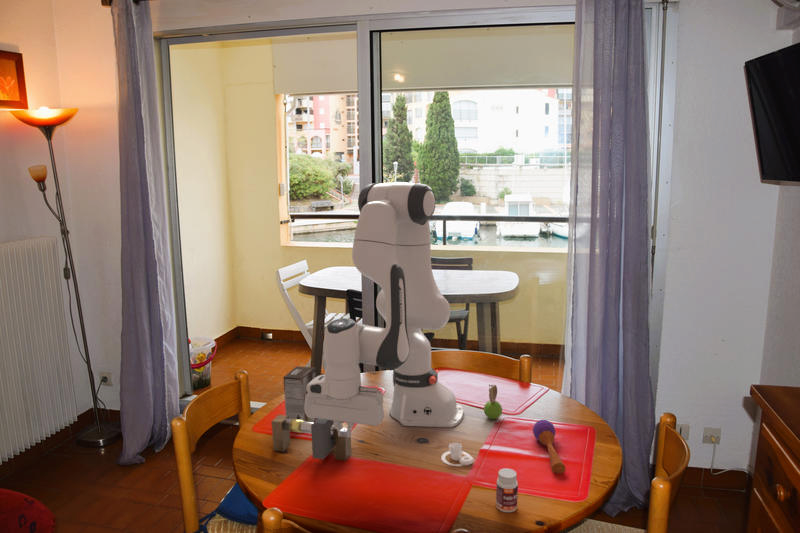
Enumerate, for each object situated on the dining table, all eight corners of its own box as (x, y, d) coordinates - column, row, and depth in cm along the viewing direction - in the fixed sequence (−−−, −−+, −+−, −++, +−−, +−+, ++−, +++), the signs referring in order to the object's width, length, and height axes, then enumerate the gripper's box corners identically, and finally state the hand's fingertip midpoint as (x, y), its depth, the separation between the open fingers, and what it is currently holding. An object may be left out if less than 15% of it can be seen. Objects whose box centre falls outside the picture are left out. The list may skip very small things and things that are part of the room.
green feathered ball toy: (480, 422, 173) (481, 383, 171) (486, 413, 179) (486, 375, 177) (499, 424, 171) (499, 386, 169) (503, 415, 177) (504, 378, 175)
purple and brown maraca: (544, 460, 144) (529, 417, 164) (548, 480, 146) (532, 436, 165) (569, 456, 144) (551, 414, 163) (572, 477, 146) (553, 432, 165)
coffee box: (299, 414, 180) (296, 365, 176) (318, 417, 178) (316, 367, 175) (285, 428, 171) (282, 376, 168) (306, 430, 169) (303, 378, 166)
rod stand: (351, 453, 156) (350, 423, 155) (345, 460, 153) (344, 430, 151) (280, 443, 162) (278, 414, 161) (273, 450, 159) (271, 420, 157)
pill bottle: (504, 515, 129) (504, 480, 128) (491, 503, 133) (492, 470, 132) (521, 509, 131) (522, 475, 130) (509, 498, 135) (509, 465, 134)
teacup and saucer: (477, 466, 150) (478, 452, 149) (448, 471, 148) (448, 456, 147) (464, 450, 158) (464, 436, 157) (436, 454, 156) (436, 440, 155)
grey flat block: (344, 434, 162) (343, 403, 160) (323, 459, 149) (322, 426, 147) (334, 432, 163) (332, 402, 161) (312, 457, 149) (311, 425, 148)
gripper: (386, 383, 145) (387, 435, 148) (311, 376, 151) (313, 425, 154) (378, 394, 139) (379, 447, 142) (300, 385, 145) (302, 437, 148)
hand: (344, 436), depth 148 cm, fingers closed
